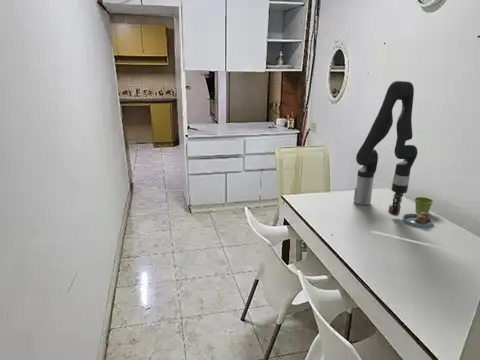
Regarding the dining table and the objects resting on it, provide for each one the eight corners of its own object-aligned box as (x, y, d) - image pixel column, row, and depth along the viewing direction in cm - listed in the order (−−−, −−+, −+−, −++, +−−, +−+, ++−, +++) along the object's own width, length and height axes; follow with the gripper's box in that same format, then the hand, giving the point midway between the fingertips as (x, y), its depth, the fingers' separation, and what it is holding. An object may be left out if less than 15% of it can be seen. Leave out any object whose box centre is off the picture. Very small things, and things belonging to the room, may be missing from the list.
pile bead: (387, 214, 193) (388, 206, 192) (389, 211, 196) (390, 204, 195) (395, 215, 191) (396, 208, 190) (396, 213, 194) (397, 205, 193)
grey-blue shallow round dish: (399, 224, 179) (400, 220, 179) (404, 215, 191) (405, 211, 190) (430, 231, 172) (431, 226, 171) (433, 221, 183) (434, 217, 182)
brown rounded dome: (390, 213, 184) (391, 205, 183) (392, 211, 187) (393, 203, 186) (398, 215, 182) (399, 207, 181) (400, 212, 185) (401, 205, 184)
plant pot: (434, 217, 188) (437, 203, 186) (416, 217, 188) (419, 202, 186) (425, 211, 197) (428, 196, 194) (409, 211, 197) (411, 196, 195)
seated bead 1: (415, 225, 177) (416, 216, 176) (416, 222, 180) (417, 214, 179) (423, 226, 175) (425, 218, 173) (424, 224, 178) (426, 216, 177)
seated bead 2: (418, 221, 181) (420, 213, 180) (420, 219, 184) (421, 211, 183) (427, 223, 179) (428, 215, 177) (428, 220, 182) (429, 212, 181)
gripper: (395, 177, 187) (390, 206, 192) (389, 184, 176) (384, 215, 181) (410, 180, 183) (405, 210, 188) (405, 188, 171) (400, 219, 177)
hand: (395, 212), depth 185 cm, fingers closed on brown rounded dome, 4 cm apart
